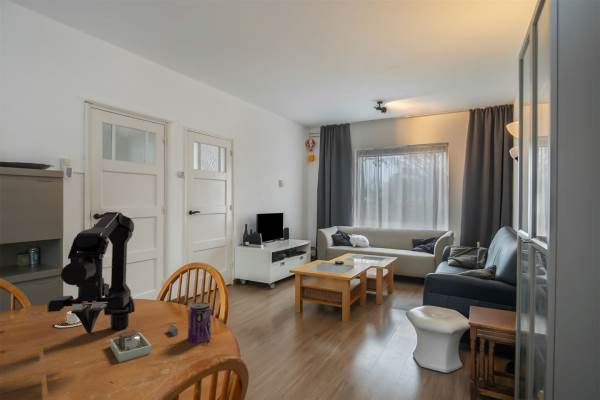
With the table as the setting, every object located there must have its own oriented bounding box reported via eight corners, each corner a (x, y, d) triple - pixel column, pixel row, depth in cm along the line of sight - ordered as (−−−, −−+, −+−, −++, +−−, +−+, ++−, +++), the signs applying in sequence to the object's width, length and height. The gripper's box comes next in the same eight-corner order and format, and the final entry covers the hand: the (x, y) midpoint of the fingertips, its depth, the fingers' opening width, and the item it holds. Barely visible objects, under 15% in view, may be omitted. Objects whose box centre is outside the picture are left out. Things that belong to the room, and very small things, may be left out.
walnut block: (119, 345, 100) (119, 332, 100) (133, 342, 102) (133, 329, 103) (121, 349, 97) (122, 336, 97) (136, 346, 99) (136, 333, 100)
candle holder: (77, 329, 117) (77, 317, 117) (44, 329, 117) (44, 317, 117) (98, 318, 129) (98, 307, 129) (69, 317, 129) (69, 307, 129)
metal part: (125, 356, 92) (126, 341, 92) (123, 351, 96) (123, 336, 96) (141, 353, 95) (141, 337, 95) (138, 348, 98) (138, 333, 98)
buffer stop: (168, 334, 111) (168, 325, 111) (172, 333, 112) (172, 324, 112) (173, 339, 108) (173, 329, 108) (177, 337, 109) (177, 328, 109)
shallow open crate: (109, 349, 100) (109, 338, 100) (139, 341, 105) (139, 331, 105) (119, 366, 89) (119, 354, 89) (152, 357, 94) (152, 346, 94)
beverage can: (204, 347, 101) (204, 308, 102) (183, 345, 103) (184, 307, 103) (214, 338, 108) (214, 302, 109) (195, 336, 110) (195, 301, 110)
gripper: (134, 270, 101) (133, 320, 100) (67, 272, 97) (66, 324, 96) (123, 277, 90) (122, 334, 90) (46, 280, 86) (45, 339, 85)
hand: (89, 332), depth 90 cm, fingers closed
